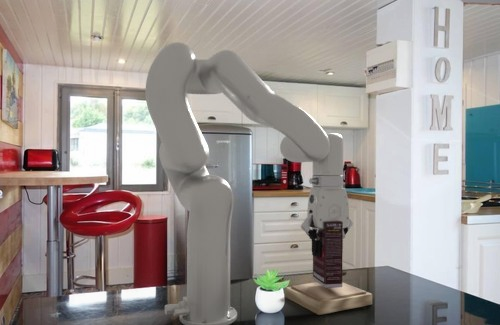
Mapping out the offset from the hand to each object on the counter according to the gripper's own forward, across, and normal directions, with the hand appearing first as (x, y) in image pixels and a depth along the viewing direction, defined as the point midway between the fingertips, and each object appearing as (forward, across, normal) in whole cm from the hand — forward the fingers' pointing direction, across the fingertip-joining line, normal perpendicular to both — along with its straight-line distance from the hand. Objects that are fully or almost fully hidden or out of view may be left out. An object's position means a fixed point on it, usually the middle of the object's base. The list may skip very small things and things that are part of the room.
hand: (327, 254), depth 102 cm
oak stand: (+12, 0, 0) cm, 12 cm away
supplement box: (+7, 0, 0) cm, 7 cm away
